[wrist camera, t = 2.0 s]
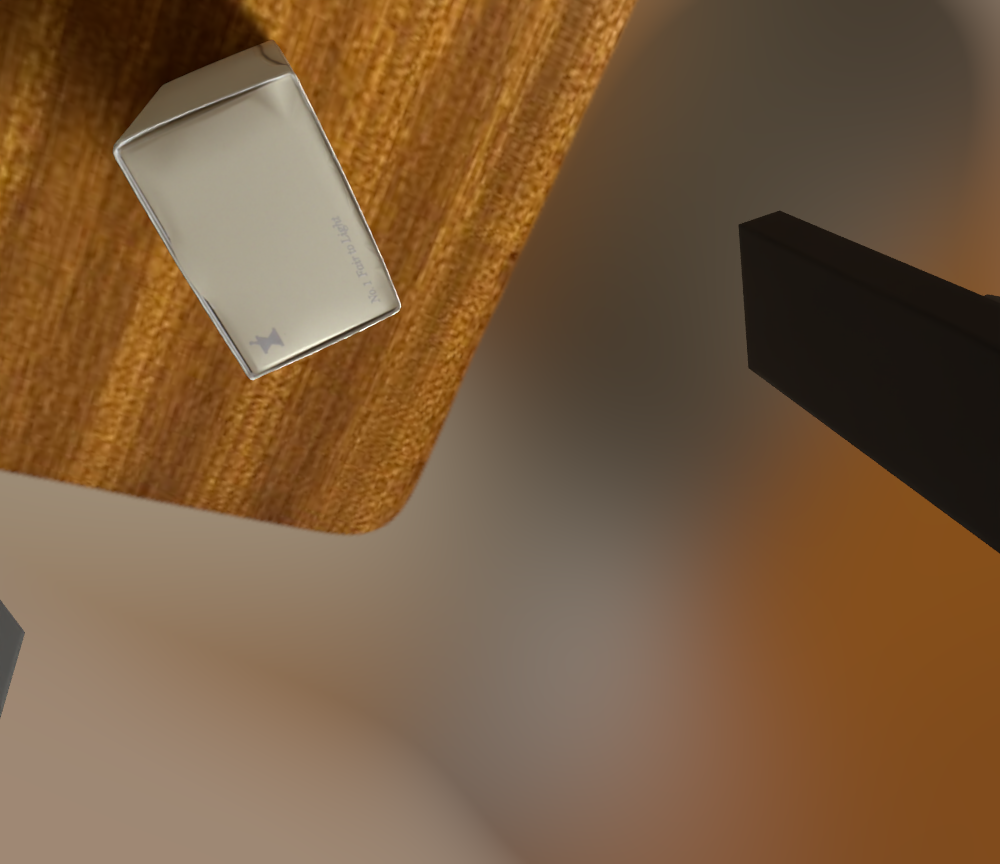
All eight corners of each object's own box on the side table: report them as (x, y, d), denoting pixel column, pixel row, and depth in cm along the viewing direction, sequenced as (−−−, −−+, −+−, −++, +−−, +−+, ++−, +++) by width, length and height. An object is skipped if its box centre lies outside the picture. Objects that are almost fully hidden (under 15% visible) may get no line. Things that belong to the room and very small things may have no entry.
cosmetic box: (350, 204, 31) (415, 317, 21) (240, 253, 31) (252, 392, 20) (270, 29, 28) (301, 62, 17) (146, 82, 27) (103, 147, 17)
